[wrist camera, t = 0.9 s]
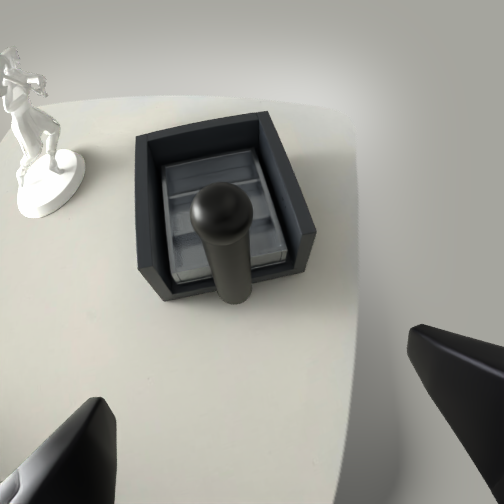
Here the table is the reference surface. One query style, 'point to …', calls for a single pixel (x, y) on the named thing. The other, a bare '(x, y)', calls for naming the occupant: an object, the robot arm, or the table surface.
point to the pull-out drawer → (220, 222)
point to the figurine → (37, 143)
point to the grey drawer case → (204, 144)
